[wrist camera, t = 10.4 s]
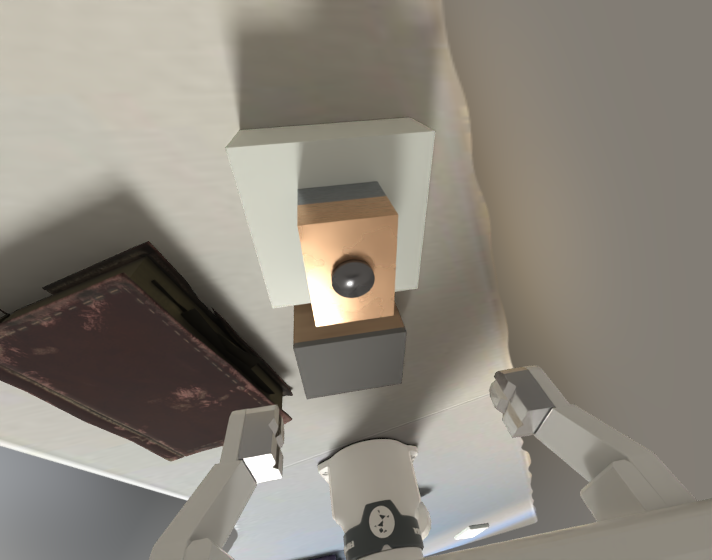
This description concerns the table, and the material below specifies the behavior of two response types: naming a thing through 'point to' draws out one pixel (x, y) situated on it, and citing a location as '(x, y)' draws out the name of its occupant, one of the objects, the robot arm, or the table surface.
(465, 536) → the external hard drive
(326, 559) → the book
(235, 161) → the grey stand
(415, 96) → the table surface
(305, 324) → the walnut stand
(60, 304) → the diary
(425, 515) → the spotlight
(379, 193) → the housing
